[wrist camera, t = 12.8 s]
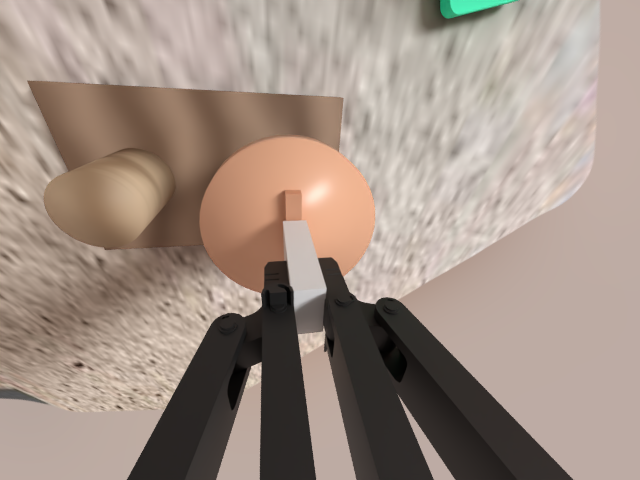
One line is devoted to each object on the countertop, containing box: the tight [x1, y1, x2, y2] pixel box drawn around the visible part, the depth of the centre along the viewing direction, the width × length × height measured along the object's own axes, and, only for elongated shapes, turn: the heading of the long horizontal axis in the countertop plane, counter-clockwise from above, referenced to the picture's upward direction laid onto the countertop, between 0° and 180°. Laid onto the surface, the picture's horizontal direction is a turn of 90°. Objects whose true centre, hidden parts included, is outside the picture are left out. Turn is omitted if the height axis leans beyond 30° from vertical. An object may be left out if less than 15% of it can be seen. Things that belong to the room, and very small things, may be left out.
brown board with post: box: [27, 81, 343, 250], centre depth 24 cm, size 26×16×10 cm, turn 87°
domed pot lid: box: [199, 134, 375, 293], centre depth 19 cm, size 12×12×5 cm
